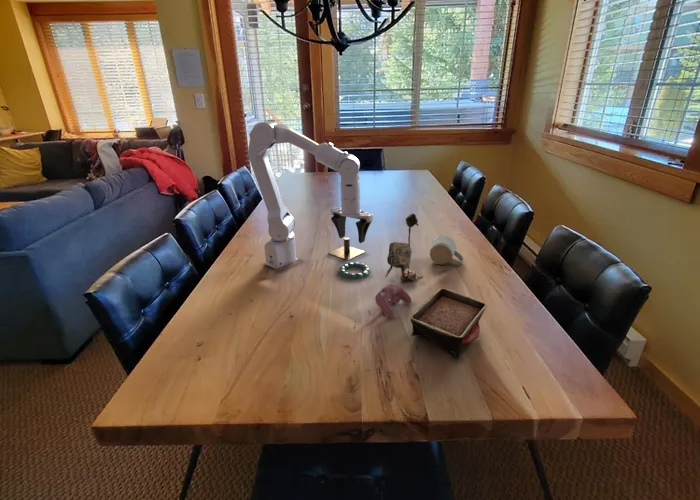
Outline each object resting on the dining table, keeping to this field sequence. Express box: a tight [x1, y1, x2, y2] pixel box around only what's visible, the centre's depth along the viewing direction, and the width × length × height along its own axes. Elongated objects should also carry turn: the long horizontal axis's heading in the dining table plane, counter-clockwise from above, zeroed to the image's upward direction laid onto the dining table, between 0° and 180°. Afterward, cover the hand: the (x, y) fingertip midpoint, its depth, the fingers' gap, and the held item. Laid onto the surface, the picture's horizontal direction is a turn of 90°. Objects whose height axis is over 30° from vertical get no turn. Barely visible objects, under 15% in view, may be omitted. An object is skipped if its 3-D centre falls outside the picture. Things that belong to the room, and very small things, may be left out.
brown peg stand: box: [328, 236, 366, 261], centre depth 126 cm, size 9×9×6 cm
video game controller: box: [374, 282, 413, 319], centre depth 96 cm, size 10×5×7 cm, turn 141°
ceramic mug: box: [429, 234, 465, 266], centre depth 120 cm, size 11×8×8 cm
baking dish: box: [410, 287, 488, 360], centre depth 84 cm, size 14×18×10 cm
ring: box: [337, 262, 371, 280], centre depth 114 cm, size 10×10×2 cm
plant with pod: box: [385, 212, 424, 284], centre depth 106 cm, size 8×11×20 cm
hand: (351, 239), depth 117 cm, fingers open, 7 cm apart
